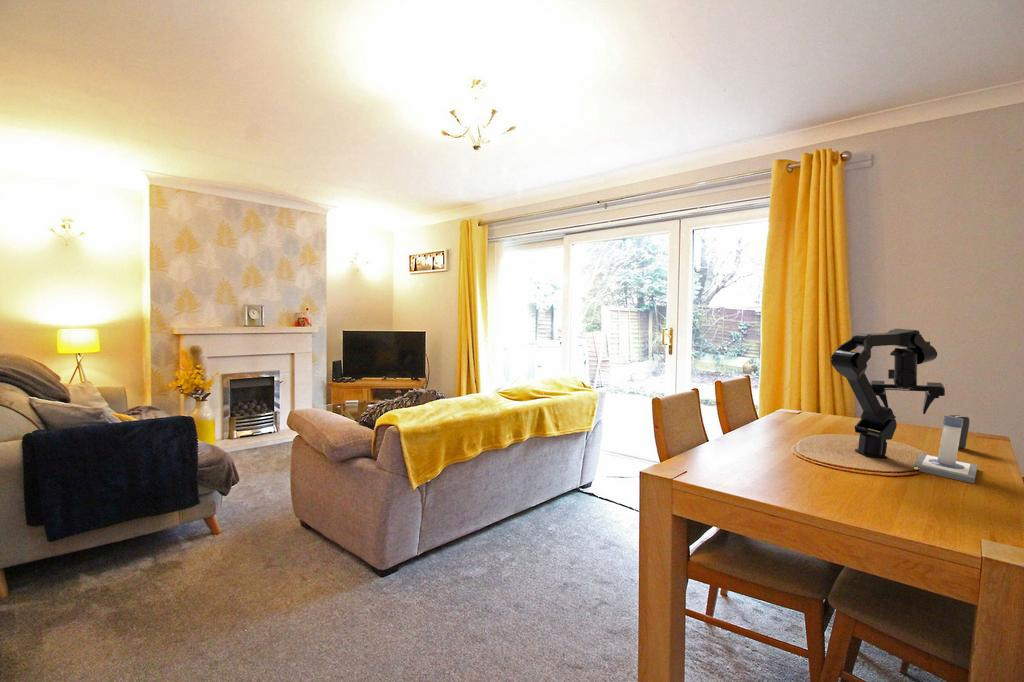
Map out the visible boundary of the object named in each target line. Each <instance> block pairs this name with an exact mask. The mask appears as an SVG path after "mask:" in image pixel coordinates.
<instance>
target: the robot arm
mask: <svg viewBox="0 0 1024 682" xmlns="http://www.w3.org/2000/svg"><path fill="white" fill-rule="evenodd" d="M882 346H883V347H884V346H885V347H886V346H894V347H895V348H894V349H893V350H892V351H891V352H890V353H889V355H890V356H892V357H893V356H894V363H893V365H894V369H892V368H891V369H887V371H888V372H887V378H888V380H893V383H894V384H891V383H885V380H871V381H869V379H868V377H867V375H866V373H865V372H866V370H867V367H868V362H869V361H870V359H871V358H872V349H873V347H882ZM858 347H863V349H862V351H861V352H857V351H854V350H856V349H857V348H858ZM937 356H938V351H937V350H936V348H935V347H934V346H933V345H931V342H930V341H928V340H927V341H926V340H925V338H924V337H923V335H922V334H921V333H920V330H919V329H918V330H917V329H906V328H894V329H890V330H888V331H887V332H881V333H880V332H877V333H875V332H874V333H873V332H872V333H855V334H853V335H852V336H851V338H850V339H848V340H847V341H845V342H843V343H842V344H840V345H839V346H838V347H837V349H836V350H835V351H834V352H833V354H832V355H831V356H830V363H831V365H832V367H833V368H834V369H835V371H836V372H837V373H839V375H842V376H843V377H844V378H845V379H846V380H847V383H848V384H849V386H850V388H851V390H852V392H853V394H854V396H855V398H856V400H857V402H858V404H859V405H860V407H861V410H862V412H861V415H860V420H859V421H858V422H857V423H856V425H854V433H857V434H859V438H858V439H859V440H858V446H857V448H854V451H855V452H857V453H859V454H861V455H863V456H865V457H867V458H868V457H870V458H879V457H884V458H883V459H888V458H887V457H888V455H886V454H887V447H888V442H887V441H888V440H893V437H894V435H895V432H896V429H897V425H898V424H897V420H896V418H897V416H896V415H895V414H894V412H893V409H892V408H891V407H889V403H888V398H887V397H888V396H887V392H886V391H907V392H908V391H909V392H924V400H923V406H922V414H923V415H926V413H927V411H928V410H929V407H930V405H932V402H934V400H935V399H939V398H940V397H944V396H945V397H946V390H945V389H946V388H945V386H944V384H943V383H942V382H929V381H928V382H926V385H925V384H922V385H920V384H919V385H918V365H922V364H925V363H928V362H932V361H934V360H936V359H937ZM877 396H878V397H879V398H878V397H877ZM879 399H880V400H881V401H882V403H883V405H884V406H883V405H881V403H880V401H879Z"/></svg>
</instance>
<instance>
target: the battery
mask: <svg viewBox="0 0 1024 682" xmlns="http://www.w3.org/2000/svg"><path fill="white" fill-rule="evenodd" d="M949 416H951V417H957V418H962V419H963V425H962V429H961V435H960V441H959V447H958V449H965V448H966V447H967V441H968V440H967V439H968V435H969V428H970V418H969V417H967V416H965V415H960V414H958V415H957V414H952V415H949Z"/></svg>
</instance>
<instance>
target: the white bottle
mask: <svg viewBox="0 0 1024 682" xmlns="http://www.w3.org/2000/svg"><path fill="white" fill-rule="evenodd" d="M942 424H943V426H942V432H941V436H940V437H941V439H940V443H939V450H938V461H937V462H939V463H942V464H946V465H951V466H955V465H956V460H957V457H958V454H959V453H958V451H959V448H958V447H959V441H960V435H961V429H962V425H963V419H962V418H957V417H951V416H950V415H944V417H943V422H942Z"/></svg>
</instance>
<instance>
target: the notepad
mask: <svg viewBox="0 0 1024 682" xmlns="http://www.w3.org/2000/svg"><path fill="white" fill-rule="evenodd" d="M937 461H938V456H937V455H932V454H926V453H922V452H921V453H920V455H919V456H918V458H917V459H916V461H915V463H914V464H913V468H914V467H918V468H920V470H919V471H918V472H921V473H925V474H931V475H934V476H939V477H943V478H947V479H953V480H956V481H961V482H964V483H965V482H966V483H968V484H969V483H970V484H972V485H973V484H975V482H976V475H977V470H978V464H976V463H971V462H965V461H962V460H961V461H960V460H957V459H956V465H955V466H951V465H946V464H942V463H939V462H937Z"/></svg>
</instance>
